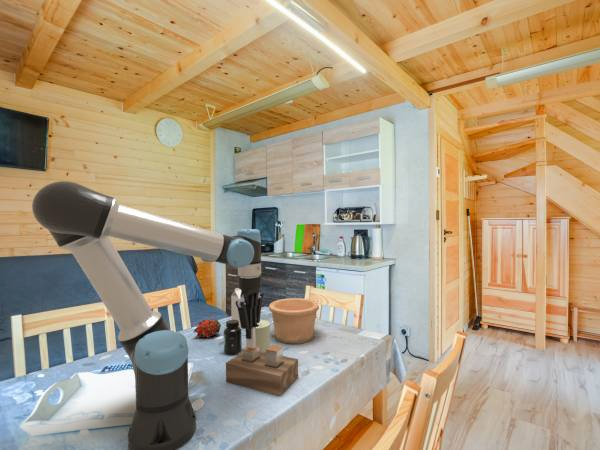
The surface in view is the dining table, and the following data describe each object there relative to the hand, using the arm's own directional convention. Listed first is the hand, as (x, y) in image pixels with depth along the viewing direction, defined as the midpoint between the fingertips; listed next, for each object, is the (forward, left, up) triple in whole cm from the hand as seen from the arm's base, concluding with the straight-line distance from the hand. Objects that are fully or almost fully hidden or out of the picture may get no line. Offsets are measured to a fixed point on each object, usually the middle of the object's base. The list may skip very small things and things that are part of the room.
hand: (251, 347), depth 103 cm
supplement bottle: (+13, +18, -10) cm, 24 cm away
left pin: (0, 0, -6) cm, 6 cm away
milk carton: (+38, +32, -10) cm, 50 cm away
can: (+16, +8, -10) cm, 20 cm away
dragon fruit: (+21, +38, -10) cm, 44 cm away
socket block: (0, -4, -10) cm, 11 cm away
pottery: (+37, +3, -10) cm, 38 cm away
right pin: (0, -9, -5) cm, 10 cm away
